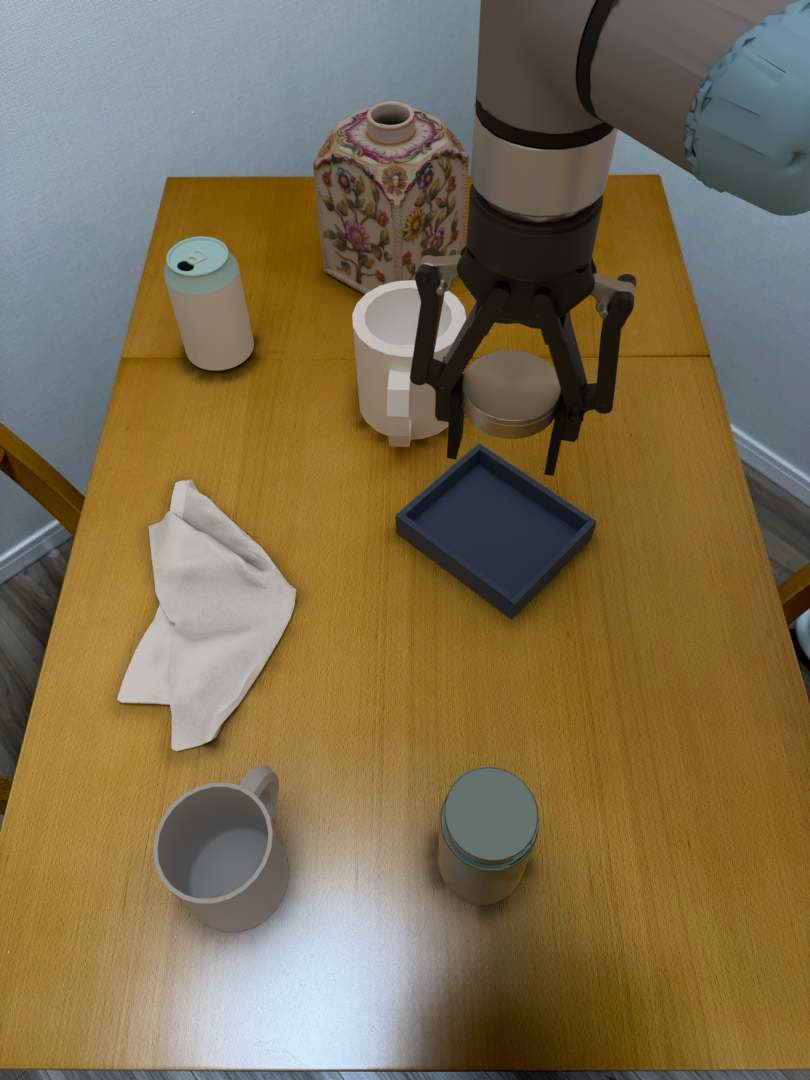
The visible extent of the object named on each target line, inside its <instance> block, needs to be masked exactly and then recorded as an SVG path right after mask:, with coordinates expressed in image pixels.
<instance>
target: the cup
mask: <svg viewBox="0 0 810 1080" xmlns="http://www.w3.org/2000/svg"><path fill="white" fill-rule="evenodd" d="M279 781H280V780H279V777H278V774H277V773H276V772H275V771H274V770H273V769H272V768H271V767H270V766H269V765H256V766H252V767H251V768H250V769H249V770H248V771H247V772H246V773H245V774H244V775H243V777H242V778H241V780H240V781H239V783H238V784H235V783H231V782H211V783H206V784H202V785H198V786H196V787H194V788H193V789H191V790H189V791H187V792H185V793H183V794H181V796H180V797H178V799H176V800H175V801H174V802H173V803H172V804H171V805H170V806H169V808H168V809H167V810H166V812H165V813H164V815H162V817H161V819H160V821H159V824H158V826H157V828H156V831H155V835H154V840H153V846H152V854H153V863H154V864H153V865H154V867H155V870H156V872H157V875H158V877H159V879H160V881H162V883H163V884H164V886H165V887H166V888H167V889H168V890H169V892H170V893H171V894H172V895H173V896H175V898H176V899H177V900H178V901H179V902H180V903H181V904H182V905H183V906H184V908H186V909H187V910H188V911H189V912H190V913H191V914H192V915H193V916H194V917H195V919H197V920H199V922H202V923H203V924H204V925H206V926H207V927H209V928H211V929H213V930H217V931H220V932H224V933H239V932H243V931H247V930H250V929H253V928H254V927H256V926H258V925H259V924H262V923H263V922H265V921H266V920H267V919H269V917H270V916H271V915H272V914H273V913H274V912H275V911H276V910H277V908H278V907H279V905H280V903H281V902H282V900H283V899H284V897H285V895H286V891H287V888H288V884H289V877H290V867H289V861H288V856H287V851H286V849H285V847H284V845H283V843H282V840H281V838H280V836H279V834H278V832H277V829H276V827H275V825H274V823H273V821H272V819H273V817H274V815H275V812H276V809H277V805H278V801H279V794H280V782H279Z"/></svg>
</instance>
